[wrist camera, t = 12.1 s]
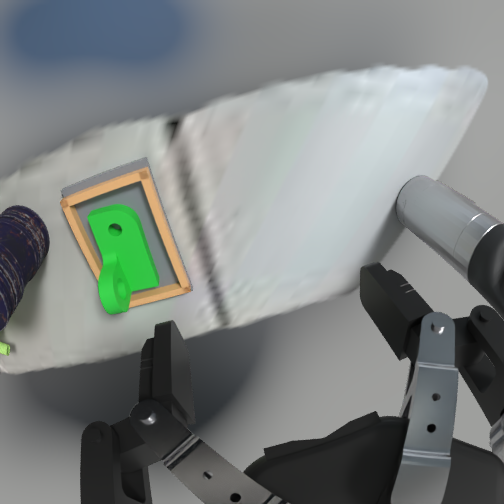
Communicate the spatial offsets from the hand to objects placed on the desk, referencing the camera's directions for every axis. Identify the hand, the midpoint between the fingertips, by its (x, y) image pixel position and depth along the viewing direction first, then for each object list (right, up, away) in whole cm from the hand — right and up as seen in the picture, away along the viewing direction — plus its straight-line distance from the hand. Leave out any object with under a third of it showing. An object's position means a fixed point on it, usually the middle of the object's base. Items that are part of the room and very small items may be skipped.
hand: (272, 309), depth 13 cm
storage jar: (-34, +5, +23) cm, 41 cm away
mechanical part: (-17, +3, +27) cm, 32 cm away
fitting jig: (-17, +4, +27) cm, 32 cm away
